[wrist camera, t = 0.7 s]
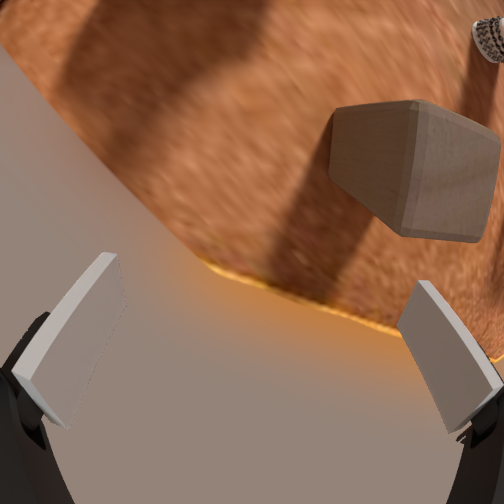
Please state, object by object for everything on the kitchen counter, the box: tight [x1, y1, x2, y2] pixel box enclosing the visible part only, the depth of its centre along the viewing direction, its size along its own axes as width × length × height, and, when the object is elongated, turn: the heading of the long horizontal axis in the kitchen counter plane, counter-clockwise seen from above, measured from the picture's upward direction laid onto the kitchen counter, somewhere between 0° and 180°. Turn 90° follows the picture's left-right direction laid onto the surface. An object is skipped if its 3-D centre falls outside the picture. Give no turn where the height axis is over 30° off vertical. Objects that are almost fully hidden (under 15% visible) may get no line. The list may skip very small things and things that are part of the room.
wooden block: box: [328, 99, 501, 243], centre depth 24 cm, size 10×10×20 cm
